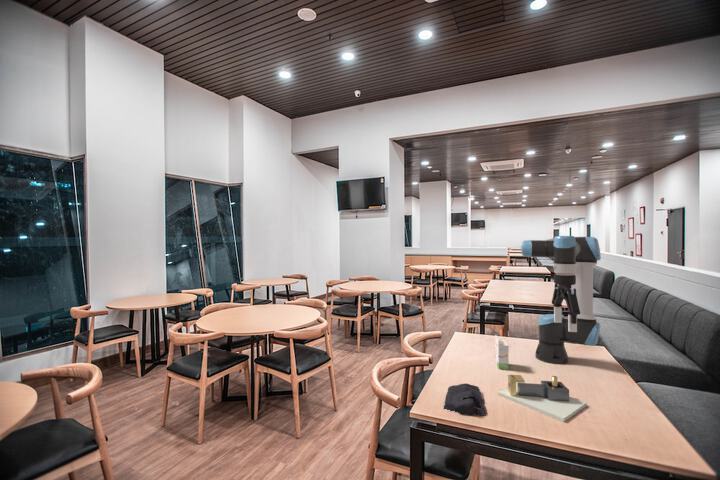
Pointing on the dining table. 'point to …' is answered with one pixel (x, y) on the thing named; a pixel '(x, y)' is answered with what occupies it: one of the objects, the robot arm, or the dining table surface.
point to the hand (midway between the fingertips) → (564, 326)
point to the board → (547, 404)
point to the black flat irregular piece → (464, 400)
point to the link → (544, 391)
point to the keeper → (514, 383)
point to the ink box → (501, 354)
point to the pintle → (554, 382)
